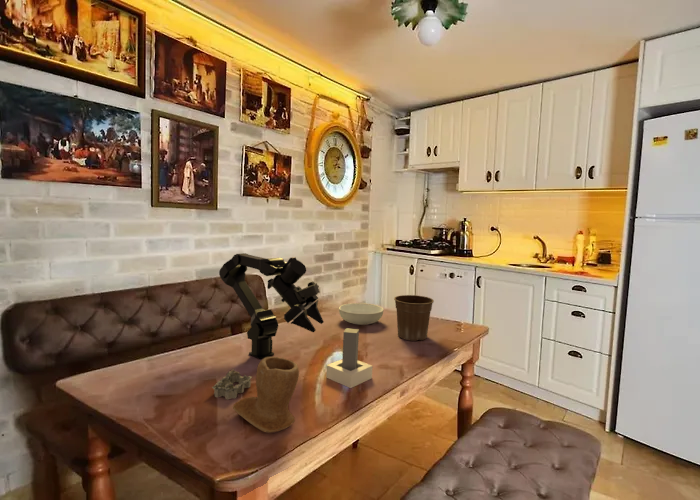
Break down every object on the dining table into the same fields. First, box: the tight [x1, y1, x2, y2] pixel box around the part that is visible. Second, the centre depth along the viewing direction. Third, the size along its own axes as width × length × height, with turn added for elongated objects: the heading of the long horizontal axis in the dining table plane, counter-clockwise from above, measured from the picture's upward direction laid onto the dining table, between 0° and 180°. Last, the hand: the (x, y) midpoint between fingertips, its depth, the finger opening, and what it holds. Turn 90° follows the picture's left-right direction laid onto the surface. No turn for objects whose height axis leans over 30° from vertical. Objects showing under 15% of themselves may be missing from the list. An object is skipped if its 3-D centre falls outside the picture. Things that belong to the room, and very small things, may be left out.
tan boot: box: [232, 356, 300, 433], centre depth 94 cm, size 15×12×15 cm
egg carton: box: [211, 368, 253, 400], centre depth 109 cm, size 11×8×4 cm
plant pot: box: [393, 294, 435, 342], centre depth 163 cm, size 16×16×16 cm
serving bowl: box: [338, 302, 384, 326], centre depth 182 cm, size 21×21×7 cm
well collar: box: [325, 359, 373, 389], centre depth 120 cm, size 10×10×4 cm
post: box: [342, 327, 360, 371], centre depth 120 cm, size 4×4×15 cm
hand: (318, 327), depth 127 cm, fingers open, 9 cm apart
